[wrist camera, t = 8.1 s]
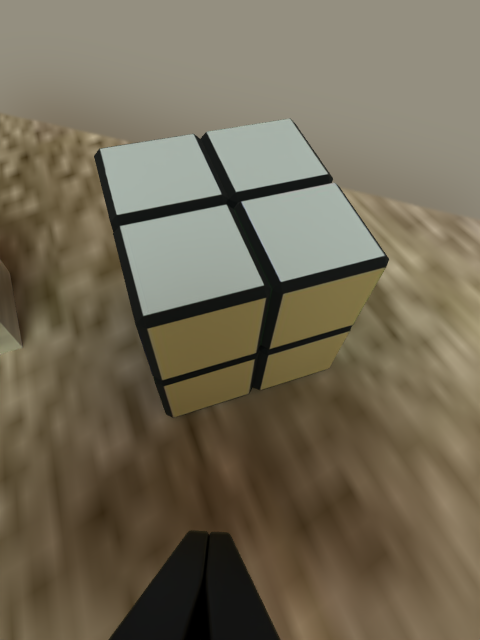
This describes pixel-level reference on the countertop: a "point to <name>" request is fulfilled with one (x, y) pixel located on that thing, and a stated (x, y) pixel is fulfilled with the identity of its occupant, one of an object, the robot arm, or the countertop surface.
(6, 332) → the maple block
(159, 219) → the puzzle cube
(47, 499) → the countertop surface
